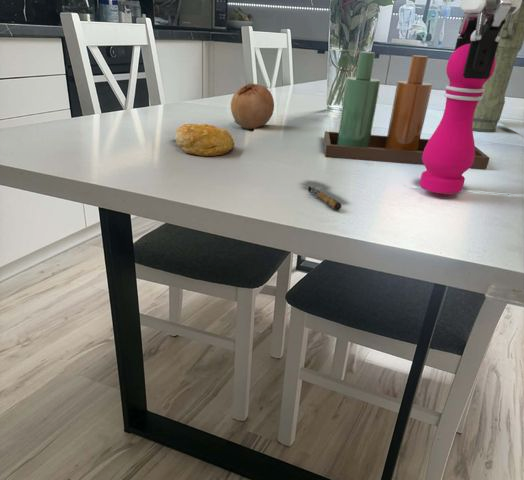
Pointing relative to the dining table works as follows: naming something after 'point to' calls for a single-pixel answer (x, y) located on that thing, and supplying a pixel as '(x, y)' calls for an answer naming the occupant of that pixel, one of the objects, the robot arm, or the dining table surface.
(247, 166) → the dining table surface
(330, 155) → the tray
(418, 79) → the amber bottle
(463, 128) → the pepper mill
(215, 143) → the bread roll
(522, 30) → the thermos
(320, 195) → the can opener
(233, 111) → the onion
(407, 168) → the dining table surface
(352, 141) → the green bottle
